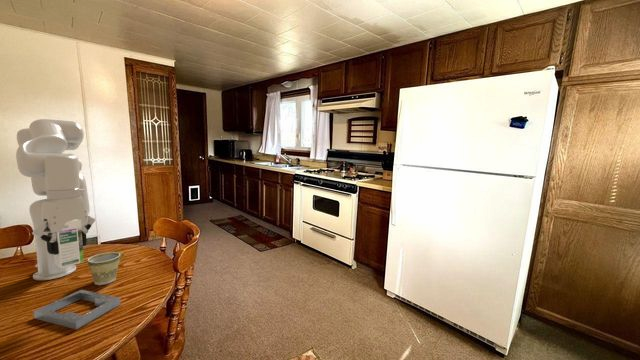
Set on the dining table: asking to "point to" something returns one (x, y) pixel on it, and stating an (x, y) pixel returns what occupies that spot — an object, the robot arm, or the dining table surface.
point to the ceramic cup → (104, 267)
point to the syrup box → (69, 245)
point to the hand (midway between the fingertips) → (68, 249)
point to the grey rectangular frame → (75, 319)
